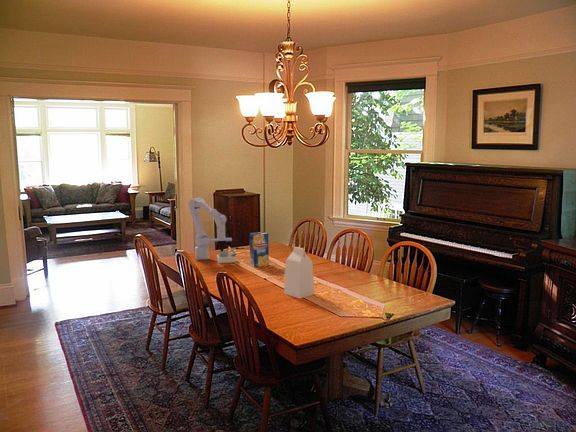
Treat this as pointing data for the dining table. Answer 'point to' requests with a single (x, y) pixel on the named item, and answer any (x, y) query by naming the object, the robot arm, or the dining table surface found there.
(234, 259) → the carton
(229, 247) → the side flap
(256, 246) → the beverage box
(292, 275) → the milk
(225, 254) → the front flap
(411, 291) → the dining table surface
